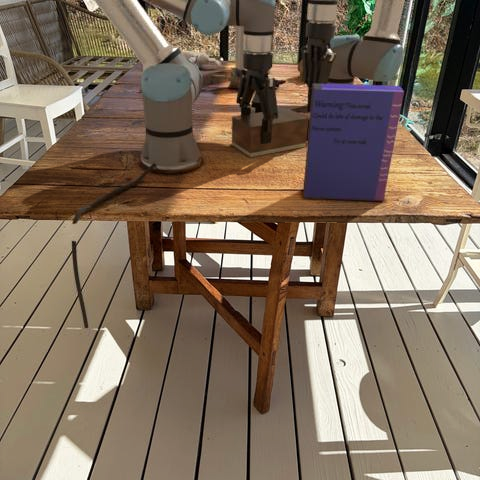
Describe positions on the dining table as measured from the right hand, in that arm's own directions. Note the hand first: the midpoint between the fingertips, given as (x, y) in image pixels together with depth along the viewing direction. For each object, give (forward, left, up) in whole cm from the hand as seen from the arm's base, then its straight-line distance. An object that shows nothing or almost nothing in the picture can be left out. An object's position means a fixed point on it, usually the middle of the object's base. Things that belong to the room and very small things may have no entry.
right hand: (312, 111), depth 137 cm
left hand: (+16, -10, -5) cm, 19 cm away
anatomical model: (-73, -33, -8) cm, 80 cm away
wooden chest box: (+12, -7, -8) cm, 16 cm away
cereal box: (+32, +22, -8) cm, 40 cm away
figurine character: (-8, -21, -8) cm, 23 cm away
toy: (-63, -89, -8) cm, 109 cm away
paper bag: (-70, -58, -8) cm, 91 cm away
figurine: (-42, -45, -8) cm, 63 cm away
